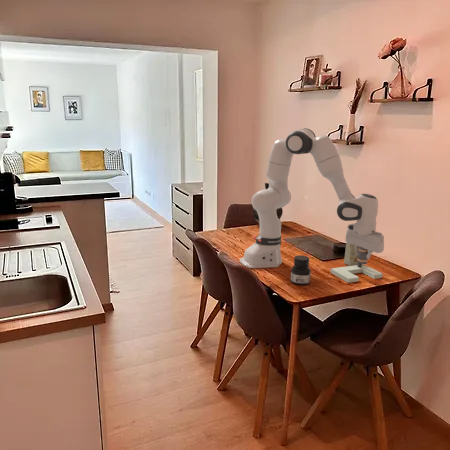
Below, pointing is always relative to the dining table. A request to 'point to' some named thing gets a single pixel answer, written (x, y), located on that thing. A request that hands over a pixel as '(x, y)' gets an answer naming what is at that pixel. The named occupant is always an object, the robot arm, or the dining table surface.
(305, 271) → the ink bottle
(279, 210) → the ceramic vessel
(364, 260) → the grey banded cylinder
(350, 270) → the post stand
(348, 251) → the skincare box
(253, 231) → the dining table surface
